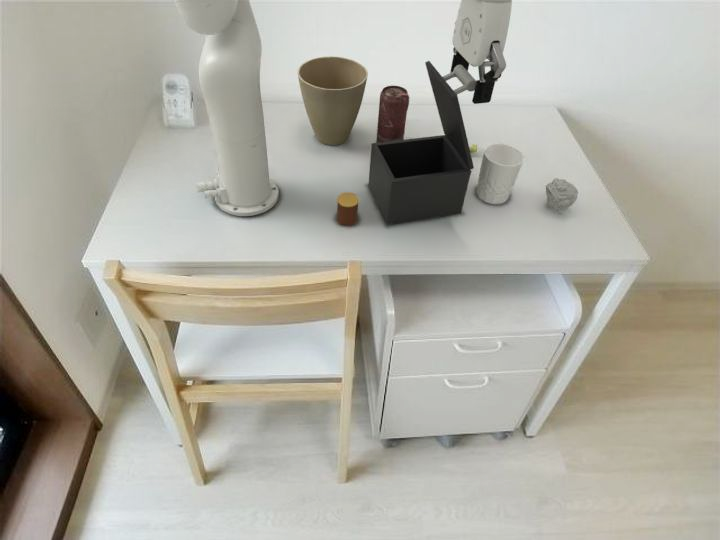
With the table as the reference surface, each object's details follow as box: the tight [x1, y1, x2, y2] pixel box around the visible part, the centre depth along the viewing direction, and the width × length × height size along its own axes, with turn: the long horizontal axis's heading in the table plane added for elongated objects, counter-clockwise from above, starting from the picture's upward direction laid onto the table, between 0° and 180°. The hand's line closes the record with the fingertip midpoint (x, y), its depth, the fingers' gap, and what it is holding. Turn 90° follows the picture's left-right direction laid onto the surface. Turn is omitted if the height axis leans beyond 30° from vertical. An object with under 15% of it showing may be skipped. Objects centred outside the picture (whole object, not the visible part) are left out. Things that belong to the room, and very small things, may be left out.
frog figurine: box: [545, 177, 579, 212], centre depth 105 cm, size 6×7×7 cm
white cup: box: [476, 142, 525, 205], centre depth 106 cm, size 8×8×10 cm
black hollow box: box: [367, 134, 472, 226], centre depth 103 cm, size 16×13×10 cm
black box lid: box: [424, 60, 477, 171], centre depth 95 cm, size 17×13×6 cm
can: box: [375, 85, 410, 143], centre depth 115 cm, size 6×6×14 cm
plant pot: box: [297, 55, 369, 146], centre depth 116 cm, size 15×15×16 cm
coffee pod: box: [336, 191, 360, 227], centre depth 100 cm, size 4×4×5 cm
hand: (469, 88), depth 92 cm, fingers open, 9 cm apart
